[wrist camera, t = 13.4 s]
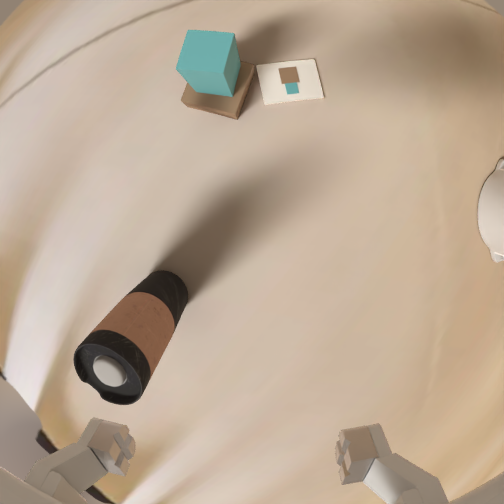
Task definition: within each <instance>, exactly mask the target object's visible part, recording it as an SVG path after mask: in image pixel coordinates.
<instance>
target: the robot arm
mask: <svg viewBox="0 0 504 504" xmlns="http://www.w3.org/2000/svg"><path fill="white" fill-rule="evenodd" d="M478 224H479V230H480V233H481V236H482V238H483V240H484V242H485V244H486V245H487V246H488V247H489V249H490V252H491V256H492V259H493V261H495V262H500V261H503V260H504V159H500V160H499V162H498V164H497V167H496V169H495V171H494V172H493V173H492V174H491V175H490V176H489V177H488V179H487V180H486V182H485V183H484V185H483V188H482V191H481V194H480V198H479V204H478ZM128 433H129V429H128V427H127V425H122V424H118V423H114V422H110V421H106V420H102V419H98V418H92V419H91V420H90V422H89V423H88V425H87V427H86V428H85V430H84V432H83V433H82V435H81V437H80V439H79V440H78V442H77V443H72V444H70V445H68V446H66V447H64V448H63V449H61V450H59V451H57V452H55V453H53V454H51V455H49V456H47V457H45V458H43V459H40V460H38V461H36V462H35V464H34V465H33V467H32V469H31V470H30V472H29V474H28V475H27V477H26V479H25V480H24V481H23V480H21V479H19V478H18V477H16V476H15V475H13V474H12V473H10V472H8V471H7V470H5V469H4V468H2V467H1V466H0V504H88V503H87V501H86V500H85V499H84V498H83V497H82V496H81V495H80V494H81V493H82V492H83V491H85V490H86V489H87V488H89V487H90V486H91V485H93V484H94V483H95V482H97V481H98V480H99V479H101V478H102V477H103V476H105V475H106V474H107V473H108V472H110V473H114V474H118V475H122V476H126V474H127V471H128V469H129V466H130V463H129V461H128V460H129V459H131V458H132V457H133V456H134V453H135V446H136V445H135V441H134V439H133V437H132V436H131V435H129V434H128ZM335 455H336V461H337V464H339V465H340V466H341V467H340V470H339V475H340V479H341V484H342V485H344V484H350V483H356V482H361V481H363V483H364V484H365V485H367V486H368V487H369V488H370V489H371V490H372V491H373V492H374V493H376V494H377V495H378V496H379V497H380V498H381V499H383V500H384V501H385V502H386V503H387V504H504V472H502V473H500V474H499V475H497V476H496V477H494V478H493V479H491V480H489V481H488V482H486V483H484V484H483V485H481V486H479V487H477V488H476V489H474V490H472V491H470V492H468V493H467V494H465V495H463V496H461V497H459V498H457V499H455V500H453V501H451V502H448V500H447V497H446V495H445V493H444V490H443V488H442V486H441V484H440V481H439V479H438V478H437V477H435V476H433V475H431V474H430V473H428V472H426V471H424V470H423V469H421V468H419V467H418V466H416V465H414V464H413V463H411V462H409V461H408V460H406V459H405V458H403V457H401V456H400V455H398V454H397V453H394V454H392V451H391V449H390V447H389V444H388V442H387V439H386V437H385V434H384V432H383V430H382V427H381V425H380V424H373V425H368V426H361V427H356V428H350V429H344V430H341V431H340V432H339V441H338V442H337V443H336V447H335Z"/></svg>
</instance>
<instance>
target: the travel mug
mask: <svg viewBox="0 0 504 504" xmlns="http://www.w3.org/2000/svg"><path fill="white" fill-rule="evenodd" d="M187 300H188V293H187V288H186V286H185V284H184V283H183V281H182V280H181V279H180V278H179V277H178V276H177V275H175V274H173V273H171V272H168V271H157V272H154V273H152V274H150V275H149V276H148V277H147V278H145V279H144V280H143V281H142V282H141V283H140V284H138V285H137V286H136V287H135V288H134V289H133V290H132V291H131V292H129V293H128V294H127V295H126V296H125V297H124V298H123V299H122V300H121V301H120V302H119V303H118V304H117V305H116V306H115V307H114V308H113V309H112V310H111V311H110V313H109V314H108V315H107V316H106V317H105V318H104V319H103V320H102V321H101V322H100V323H99V324H98V325H97V326H96V328H95V329H94V330H93V331H92V332H91V333H90V334H89V335H88V336H87V337H86V339H85V340H84V341H83V342H82V343H81V344H80V345H79V346H78V348H77V349H76V351H75V354H74V366H75V369H76V372H77V374H78V376H79V378H80V379H81V380H82V381H83V382H85V383H88V384H90V385H91V386H92V387H93V388H94V389H96V390H97V391H98V392H99V394H100V396H101V398H102V399H104V400H106V401H108V402H111V403H114V404H119V405H129V404H132V403H135V402H136V401H138V400H139V399H140V397H141V396H142V394H143V392H144V390H145V388H146V386H147V384H148V382H149V380H150V378H151V376H152V374H153V372H154V370H155V368H156V367H157V365H158V363H159V361H160V359H161V357H162V355H163V353H164V351H165V349H166V347H167V345H168V343H169V341H170V339H171V337H172V335H173V333H174V331H175V329H176V326H177V324H178V322H179V320H180V317H181V315H182V313H183V311H184V308H185V306H186V303H187Z"/></svg>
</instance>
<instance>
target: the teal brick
mask: <svg viewBox="0 0 504 504" xmlns="http://www.w3.org/2000/svg"><path fill="white" fill-rule="evenodd" d="M240 66H241V64H240V59H239V54H238V49H237V44H236V39H235V34H234V33H227V32H216V31H201V30H188V31H187V34H186V37H185V40H184V44H183V47H182V50H181V53H180V56H179V60H178V63H177V67H176V70H177V71H178V72H179V73H180V74H181V75H182V76H183V78H184V79H185V80H186V81H187V82H188V83H189V84H190V86H191V87H192V88H193V89H194V90H195V91H196V92H199V93H207V94H215V95H222V96H229V97H233V94H234V90H235V85H236V81H237V77H238V73H239V69H240Z"/></svg>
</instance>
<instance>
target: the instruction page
mask: <svg viewBox="0 0 504 504" xmlns="http://www.w3.org/2000/svg"><path fill="white" fill-rule="evenodd" d="M256 69H257V73H258V78H259V82H260V87H261V92H262V96H263V101H264V105H270V104H277V103H284V102H293V101H301V100H311V99H323V98H324V96H323V91H322V87H321V83H320V79H319V75H318V71H317V67H316V63H315V60H314V59H308V60H296V61H285V62H277V63H269V64H261V65H256Z"/></svg>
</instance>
